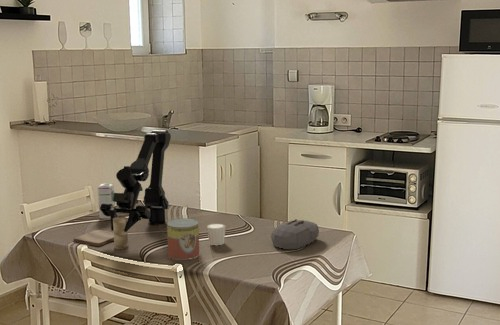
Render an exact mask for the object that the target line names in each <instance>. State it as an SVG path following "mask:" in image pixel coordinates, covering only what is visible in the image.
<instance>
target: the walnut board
mask: <svg viewBox="0 0 500 325" xmlns="http://www.w3.org/2000/svg"><path fill="white" fill-rule="evenodd" d="M74 241H76V242H75V243H79V242H80V243H79V244H84V245H89V244H90V246H94V247H101V246H103V245H107V244H109V243H111V242H114V231H112V232H111V231H107V230H101V229H95V230H93V231H89V232H87V233H84V234H82V235H79V236H75V237H73V242H74Z"/></svg>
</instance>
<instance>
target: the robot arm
mask: <svg viewBox="0 0 500 325" xmlns="http://www.w3.org/2000/svg"><path fill="white" fill-rule="evenodd" d="M143 138H144V140H143V142H142V145H141V147H140V150H139V152H138V155H137V158H136V160H134V161H133V162H132V163H131V164H130V166H129V165H128V166H127V165H124V166H123V168H120V169H119V170H118V171H117V172H116V179H117V180H118V182H119V184H120V185H121V186H122V188H124V191H123V192H121V193H120V192H114V198H113V202H114V201H115V205H117V206H118V207H117V206H115V207H114V206H113V205H112V204H110V203H103V204H101V206H100V210H101V211H102V213H103V214H104V215H105V216H110V217H111V219H110V226H111V227H110V230H111V231H112V232H114V230H113V218H115V217H119V216H118V214H119V213H120V214H128V219H127V223H126V226H125V230H124V231H125V232H127V233H128V231H129V230H130V229H131V227H133V226H134V225H135V224H136V223H138V222H139V221H142V220H147V221H148V223H149V224H150V225H151V226H152V225H162V224H167V221H166V211H165V210H169V200H168V199H167V198H166V192H165V189H164V188H163V186H162V184H163V172H164V160H165V152H166V150H167V149H168V148H169V146H170V141H171V140H172V138H171V133H170V132H169V131H168V130H166V129H165V130H162V129H159V130H158V129H152V130H151V131H150V132H147V133H145V134H144V137H143ZM151 160H152V161H151ZM150 161H151V169H149V163H150ZM149 172H150V174H149ZM149 176H150V180H149V182H150V183H149V185H148V186H147V187H145V189H144V196H143V203H144V205H139V200H138V199H139V195H140V192H142V191H143V186H142V184H141V182H146V181H147V180H148V178H149ZM136 204H138V205H136Z"/></svg>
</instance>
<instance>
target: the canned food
mask: <svg viewBox="0 0 500 325" xmlns="http://www.w3.org/2000/svg"><path fill="white" fill-rule="evenodd" d="M199 223H200V222H199V220H197V219H195V218H188V217H185V218H183V217H181V218H174V219H171V220H169V221H166V227H167V229H166V230H167V231H166V232H167V257H168V258H170V259H171V258H172V259H171V260H174V259H176V261H185V260H184V259H189V258H194V257H196V256H198V255H199V253H200V236H199V235H200V234H199V233H200V229H199V225H200V224H199ZM199 256H200V255H199ZM199 256H198V257H199ZM196 258H197V257H196ZM194 259H195V258H194Z"/></svg>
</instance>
